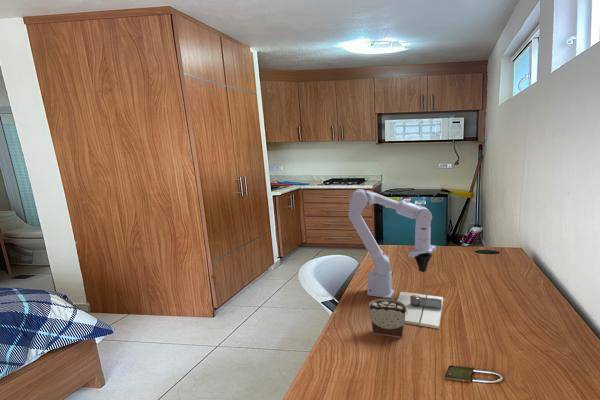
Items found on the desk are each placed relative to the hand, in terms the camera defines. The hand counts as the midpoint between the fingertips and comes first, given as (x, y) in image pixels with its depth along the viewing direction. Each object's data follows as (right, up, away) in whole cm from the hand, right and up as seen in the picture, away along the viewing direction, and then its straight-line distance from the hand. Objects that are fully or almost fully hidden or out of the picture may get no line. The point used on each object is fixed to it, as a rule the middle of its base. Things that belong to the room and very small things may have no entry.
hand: (422, 271), depth 143 cm
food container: (-20, -15, -25) cm, 35 cm away
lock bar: (-3, -10, -11) cm, 16 cm away
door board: (-5, -12, -11) cm, 17 cm away
